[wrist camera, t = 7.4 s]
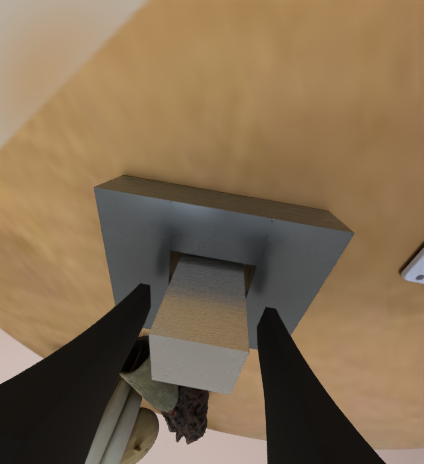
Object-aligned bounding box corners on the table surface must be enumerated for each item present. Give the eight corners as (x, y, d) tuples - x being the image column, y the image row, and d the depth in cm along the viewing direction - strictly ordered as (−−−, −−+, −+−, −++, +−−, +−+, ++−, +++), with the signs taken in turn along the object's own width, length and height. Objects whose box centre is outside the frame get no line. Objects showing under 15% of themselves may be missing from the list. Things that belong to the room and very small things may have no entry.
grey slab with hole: (328, 211, 12) (354, 233, 10) (272, 321, 18) (279, 353, 15) (123, 175, 12) (93, 187, 10) (134, 295, 18) (118, 323, 16)
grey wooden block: (241, 242, 14) (249, 352, 7) (231, 279, 16) (230, 394, 9) (190, 233, 14) (148, 333, 7) (187, 272, 16) (151, 379, 9)
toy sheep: (165, 394, 30) (131, 522, 20) (60, 366, 28) (-28, 487, 19) (178, 364, 24) (143, 518, 15) (51, 329, 23) (-77, 470, 14)
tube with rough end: (126, 335, 23) (96, 391, 18) (173, 328, 21) (155, 388, 16) (183, 399, 30) (173, 451, 25) (222, 398, 29) (219, 453, 24)
